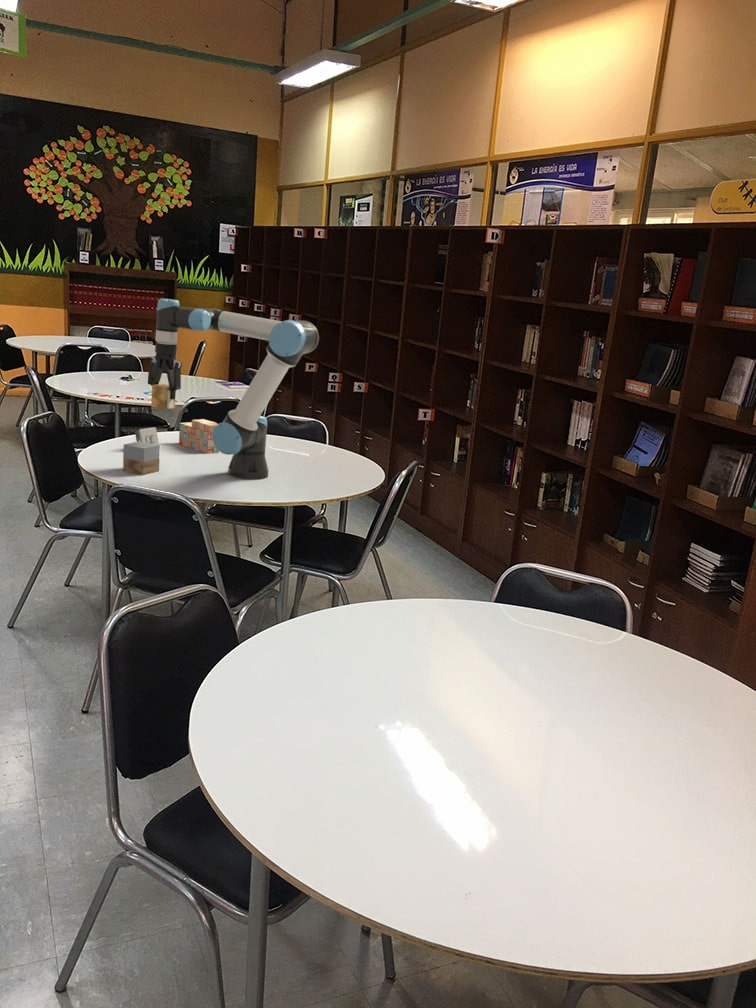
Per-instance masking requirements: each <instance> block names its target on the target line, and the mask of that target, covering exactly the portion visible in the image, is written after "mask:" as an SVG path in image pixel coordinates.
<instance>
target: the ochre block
mask: <svg viewBox="0 0 756 1008" xmlns="http://www.w3.org/2000/svg"><path fill="white" fill-rule="evenodd" d="M168 389H170V388H169V384H164V383H162V384H161V383H159V385H152V386H151V397H150V398H151V400H150V407H152V408H154V409H159V410H171V409H176V398H175V399H174V405H173V408H167V397H168ZM176 394H177V393H176ZM176 394H175V397H176V396H177V395H176Z"/></svg>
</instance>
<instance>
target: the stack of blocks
mask: <svg viewBox="0 0 756 1008" xmlns="http://www.w3.org/2000/svg"><path fill="white" fill-rule="evenodd" d="M218 424H219V423H217V422H215V421H212V420H208V419H204V418H200V419H191V422H190V421H189V422H188V421H187V422H179V426H178V429H179V432H178V433H179V435H178V437H179V438H178V443H179V445H182V446H184V447H186V448H189V449H192V450H196V451H197V452H201V453H204V454H205V455H206V454H207V455H210V454H211V455H212V454H219V453H220V451H219V450H218V449H217V448H216V447H215V445H214V443H213V440H212V432H213V429H214V428H215V426H217V425H218Z"/></svg>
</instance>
